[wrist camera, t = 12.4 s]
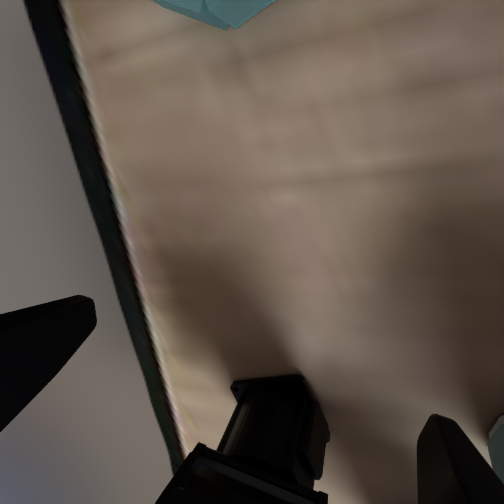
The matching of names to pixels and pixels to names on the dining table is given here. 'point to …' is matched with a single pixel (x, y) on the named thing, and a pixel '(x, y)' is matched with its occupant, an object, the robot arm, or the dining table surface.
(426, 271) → the dining table surface
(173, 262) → the dining table surface
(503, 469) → the disposable coffee cup
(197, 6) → the bead
